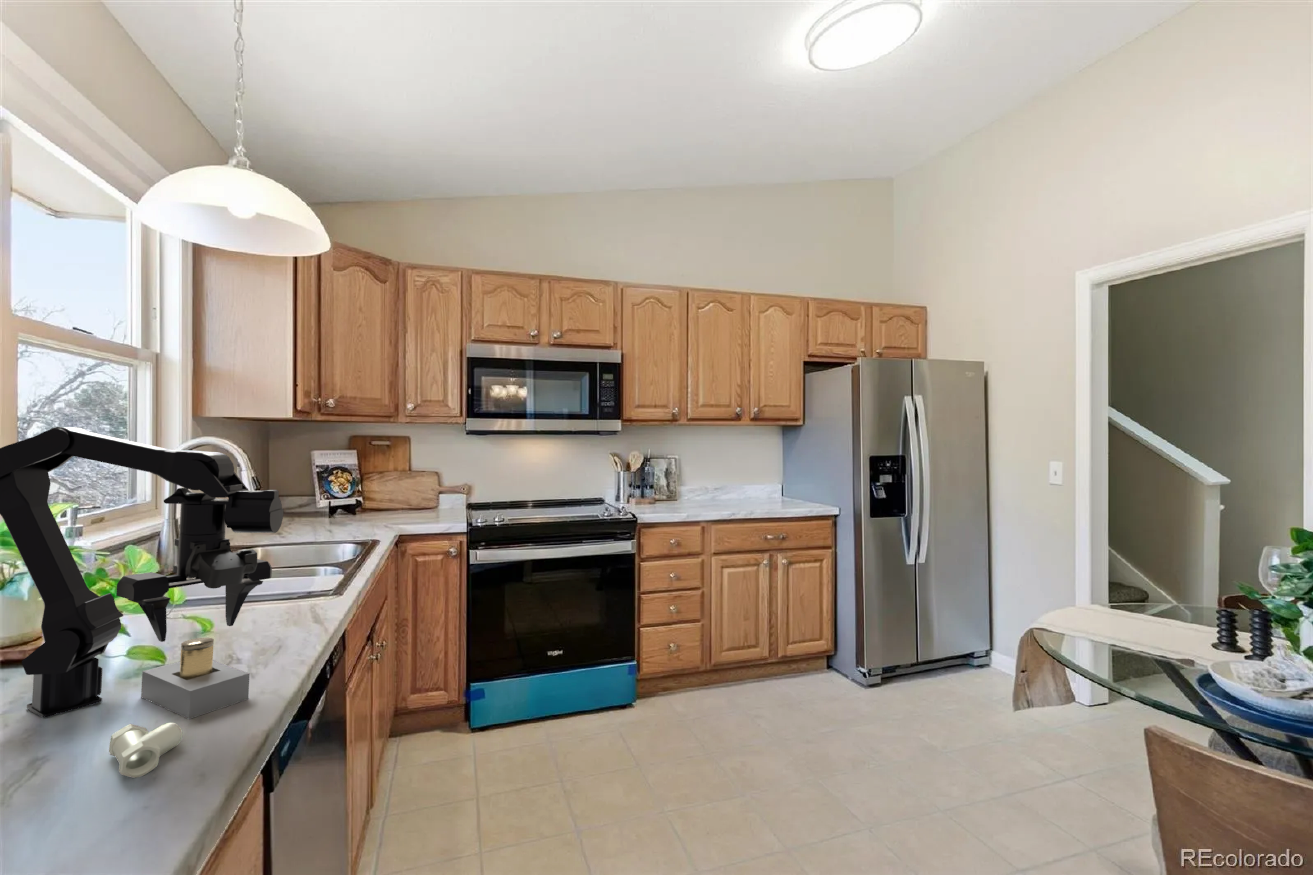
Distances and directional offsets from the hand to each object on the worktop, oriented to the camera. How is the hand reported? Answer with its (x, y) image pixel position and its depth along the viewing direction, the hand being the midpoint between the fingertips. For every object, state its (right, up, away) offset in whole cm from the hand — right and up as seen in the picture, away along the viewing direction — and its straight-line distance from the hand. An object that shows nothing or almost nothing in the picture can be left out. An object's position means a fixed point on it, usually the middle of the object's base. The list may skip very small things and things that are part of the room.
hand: (197, 633), depth 92 cm
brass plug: (0, -10, 0) cm, 10 cm away
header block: (0, -10, 0) cm, 10 cm away
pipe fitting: (+8, -11, -18) cm, 22 cm away
